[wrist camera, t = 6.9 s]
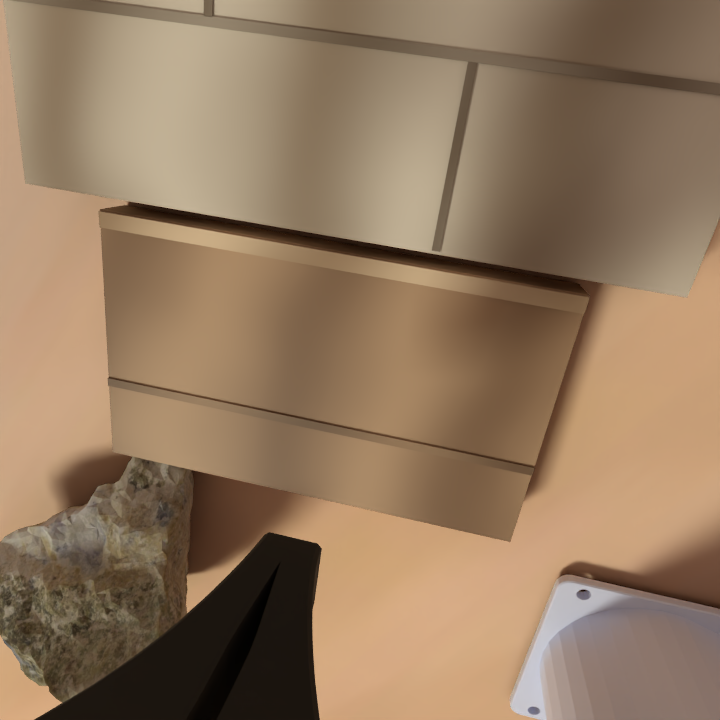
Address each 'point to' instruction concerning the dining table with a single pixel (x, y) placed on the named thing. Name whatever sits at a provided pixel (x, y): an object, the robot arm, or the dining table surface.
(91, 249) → the dining table surface
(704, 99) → the beige grooved panel
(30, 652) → the rock
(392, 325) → the plank
